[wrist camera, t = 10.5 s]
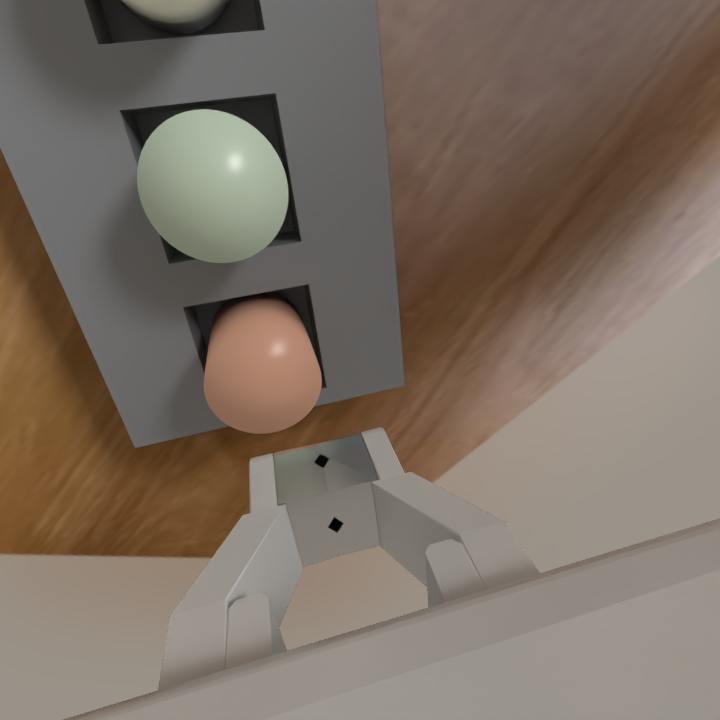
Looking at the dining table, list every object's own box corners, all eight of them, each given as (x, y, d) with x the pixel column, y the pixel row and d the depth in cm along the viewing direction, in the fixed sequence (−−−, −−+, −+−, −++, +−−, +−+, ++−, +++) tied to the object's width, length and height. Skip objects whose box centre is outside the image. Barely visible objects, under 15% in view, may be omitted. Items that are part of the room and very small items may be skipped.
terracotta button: (296, 282, 20) (312, 321, 16) (311, 365, 23) (329, 419, 18) (199, 300, 20) (188, 346, 15) (224, 383, 22) (220, 444, 17)
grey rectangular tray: (333, -174, 15) (357, -250, 12) (384, 356, 25) (404, 385, 22) (-87, -168, 13) (-183, -259, 10) (148, 407, 23) (135, 448, 20)
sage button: (264, 110, 17) (273, 100, 13) (285, 225, 19) (299, 251, 15) (146, 124, 16) (113, 119, 12) (181, 242, 19) (164, 273, 14)
